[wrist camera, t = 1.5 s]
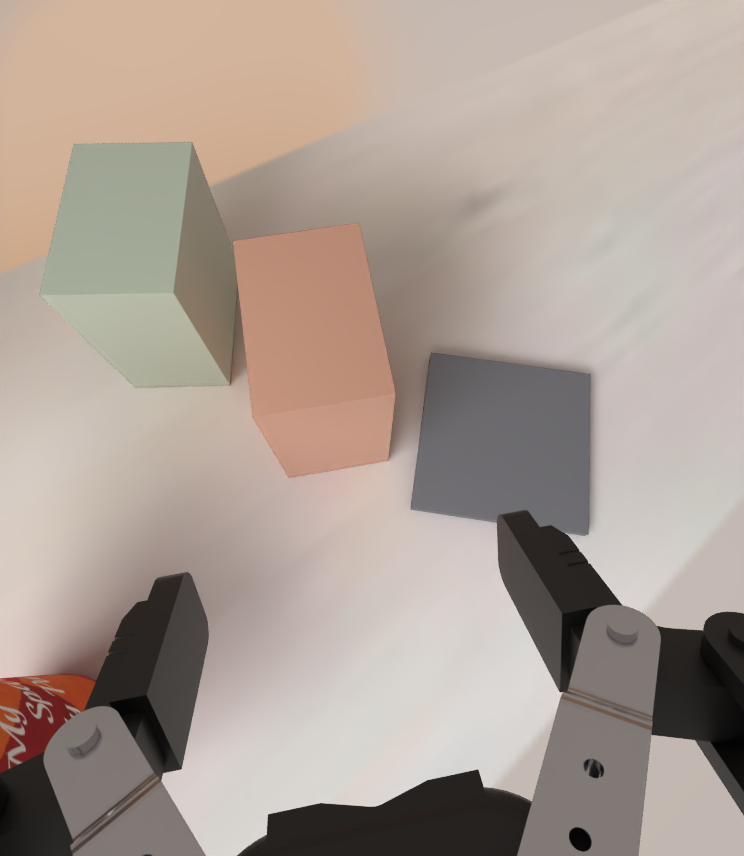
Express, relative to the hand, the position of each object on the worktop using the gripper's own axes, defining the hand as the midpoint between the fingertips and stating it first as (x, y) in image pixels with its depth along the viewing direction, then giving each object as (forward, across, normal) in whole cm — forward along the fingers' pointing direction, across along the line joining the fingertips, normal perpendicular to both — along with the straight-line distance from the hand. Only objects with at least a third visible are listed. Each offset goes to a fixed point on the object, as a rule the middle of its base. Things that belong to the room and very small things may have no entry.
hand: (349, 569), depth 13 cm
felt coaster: (+16, -10, +6) cm, 20 cm away
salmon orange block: (+20, 0, +3) cm, 20 cm away
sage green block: (+24, +8, -2) cm, 26 cm away
